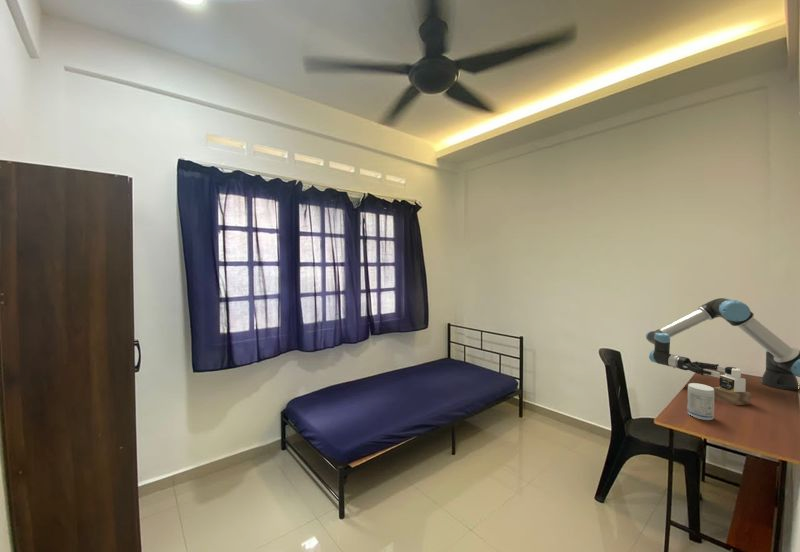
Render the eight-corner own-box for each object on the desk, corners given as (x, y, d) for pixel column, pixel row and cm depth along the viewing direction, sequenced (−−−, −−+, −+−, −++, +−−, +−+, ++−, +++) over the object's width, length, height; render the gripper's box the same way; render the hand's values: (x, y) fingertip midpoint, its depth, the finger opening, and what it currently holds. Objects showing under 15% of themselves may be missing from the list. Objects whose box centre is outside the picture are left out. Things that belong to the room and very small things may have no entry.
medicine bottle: (718, 387, 177) (719, 365, 177) (730, 387, 178) (731, 365, 178) (733, 392, 170) (734, 370, 170) (745, 392, 171) (746, 369, 171)
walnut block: (728, 396, 180) (728, 386, 180) (750, 404, 170) (750, 393, 170) (713, 397, 179) (713, 387, 179) (734, 405, 169) (734, 394, 169)
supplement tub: (689, 410, 164) (690, 381, 164) (715, 416, 157) (716, 386, 156) (685, 415, 158) (685, 386, 158) (712, 423, 151) (712, 392, 150)
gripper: (691, 365, 201) (737, 376, 181) (667, 371, 191) (713, 383, 171) (691, 353, 200) (738, 363, 181) (667, 358, 191) (714, 369, 171)
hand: (726, 373), depth 176 cm, fingers open, 13 cm apart
